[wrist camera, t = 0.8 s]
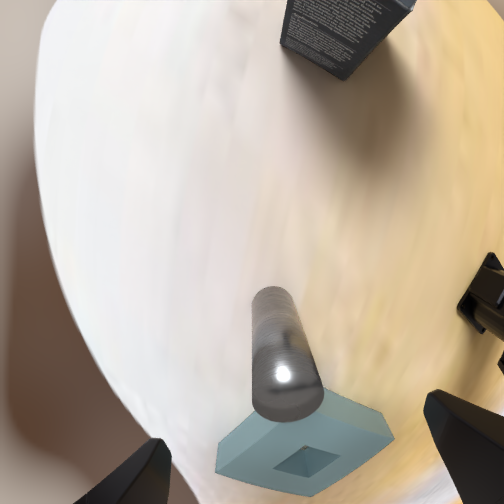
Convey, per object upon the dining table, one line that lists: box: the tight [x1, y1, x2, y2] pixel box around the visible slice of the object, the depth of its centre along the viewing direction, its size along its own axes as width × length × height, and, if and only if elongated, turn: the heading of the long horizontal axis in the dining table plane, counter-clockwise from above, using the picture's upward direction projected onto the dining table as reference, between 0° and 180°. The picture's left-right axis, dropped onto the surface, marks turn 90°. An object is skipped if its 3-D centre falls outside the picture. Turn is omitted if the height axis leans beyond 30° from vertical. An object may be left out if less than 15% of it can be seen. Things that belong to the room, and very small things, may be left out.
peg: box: [252, 286, 324, 423], centre depth 15 cm, size 3×3×10 cm
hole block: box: [215, 388, 395, 497], centre depth 21 cm, size 12×12×4 cm
